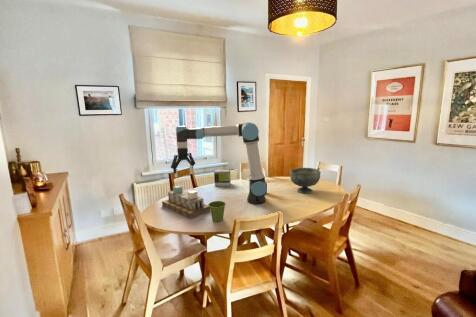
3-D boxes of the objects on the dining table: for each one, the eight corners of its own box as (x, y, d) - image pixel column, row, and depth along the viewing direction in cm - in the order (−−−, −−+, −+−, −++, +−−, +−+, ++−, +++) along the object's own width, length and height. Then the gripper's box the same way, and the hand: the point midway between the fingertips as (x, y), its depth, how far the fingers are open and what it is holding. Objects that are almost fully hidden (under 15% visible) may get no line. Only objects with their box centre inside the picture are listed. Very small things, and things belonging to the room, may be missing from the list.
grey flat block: (210, 211, 184) (210, 205, 183) (190, 218, 171) (190, 213, 170) (181, 200, 207) (181, 195, 207) (162, 206, 194) (161, 201, 194)
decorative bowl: (326, 192, 222) (326, 170, 219) (307, 198, 208) (307, 175, 205) (303, 186, 244) (303, 166, 241) (284, 191, 230) (284, 170, 227)
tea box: (230, 183, 255) (230, 169, 252) (229, 186, 245) (229, 171, 242) (216, 183, 256) (215, 169, 254) (214, 186, 247) (214, 171, 244)
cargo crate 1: (182, 192, 193) (182, 186, 193) (177, 193, 190) (176, 188, 189) (178, 190, 197) (178, 185, 196) (173, 192, 193) (172, 186, 192)
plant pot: (212, 215, 176) (212, 200, 174) (228, 217, 173) (228, 201, 171) (205, 222, 165) (205, 206, 163) (222, 224, 162) (222, 208, 160)
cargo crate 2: (197, 197, 181) (197, 191, 180) (192, 199, 177) (191, 193, 177) (193, 195, 184) (193, 190, 184) (187, 197, 181) (187, 191, 180)
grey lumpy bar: (203, 207, 181) (203, 198, 180) (193, 210, 174) (193, 201, 173) (178, 197, 202) (177, 189, 201) (168, 200, 196) (168, 191, 194)
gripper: (192, 145, 192) (194, 171, 196) (164, 149, 174) (166, 178, 178) (199, 145, 187) (200, 173, 191) (170, 149, 169) (172, 180, 173)
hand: (184, 175), depth 184 cm, fingers open, 13 cm apart
